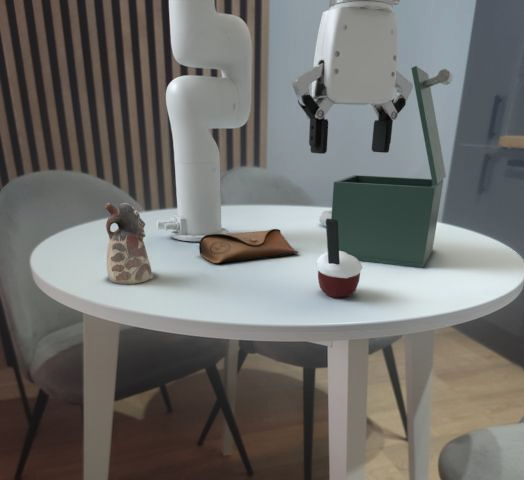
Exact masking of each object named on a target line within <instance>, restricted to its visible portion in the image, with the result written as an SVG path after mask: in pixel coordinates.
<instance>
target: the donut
mask: <svg viewBox="0 0 524 480" xmlns="http://www.w3.org/2000/svg"><path fill="white" fill-rule="evenodd" d="M331 216H332V209H331V210H326V211H323V212H322V213H321V214H320V215H319V217H318V218H319V223H320V224H321V225H322V226H323V227H325V228H326V219H331Z"/></svg>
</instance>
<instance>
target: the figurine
mask: <svg viewBox="0 0 524 480" xmlns="http://www.w3.org/2000/svg"><path fill="white" fill-rule="evenodd" d="M104 208H105V210H107V211H108V213H109V214H110V215H109V217H108V218H107V220H106V224H105V229H106V232H107V234H108V238H109V241H108V245H107V252H106V272H107V276H108V279H109V281H110V282H112V283H115V284H120V285H121V284H123V285H133V284H139V283H144V282H146V281H149V280H151V279H153V278H154V276H153V272H152V271H153V270H152V267H151V263H150V260H149V257H148V252H147V249H146V244H145V242H144V239H145V237H146V233H145V229H144V228H145V227H146V223H145V221H144V220H143V219H142V218H141V216H140V213H139V211H138V210H137V209H136V208H135V207H134V206H133V205H131V204H130V203H128V202H121V203H119V205H118V207H117V208H116V207H115V206H114V205H113V204H111V202H108V203H106V204H105V207H104ZM113 224H116V225H117V229H116V230H115V231H112V230H111V226H112V225H113Z"/></svg>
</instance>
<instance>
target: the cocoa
mask: <svg viewBox="0 0 524 480" xmlns="http://www.w3.org/2000/svg"><path fill="white" fill-rule="evenodd" d="M325 228H326V229H325V230H326V232H325V233H326V248H327V250H326V251H325V252H323V253H322V254H321V255H320V256H319V257H318V258H317V260H316V266H315V267H316V269H317V279H318V284H319V288H320V290H321V291H322V292H323V293H324V294H325V295H327V296H328V297H331V298H337V299H339V298H340V299H343V298H347V297H349V296H350V295H352V294H354V292H356V290H357V288H358V285H359V282H360V278H361V272H362V270H363V265H362V263H361V261H359V260H358V259H357V258H355V257H354V256H352V255H349V254H347V253H346V252H343V251H339V237H338V221H337V220H334V219H326V227H325Z"/></svg>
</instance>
